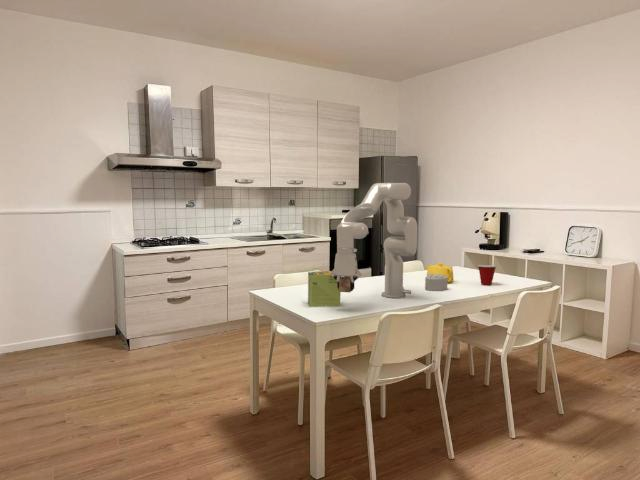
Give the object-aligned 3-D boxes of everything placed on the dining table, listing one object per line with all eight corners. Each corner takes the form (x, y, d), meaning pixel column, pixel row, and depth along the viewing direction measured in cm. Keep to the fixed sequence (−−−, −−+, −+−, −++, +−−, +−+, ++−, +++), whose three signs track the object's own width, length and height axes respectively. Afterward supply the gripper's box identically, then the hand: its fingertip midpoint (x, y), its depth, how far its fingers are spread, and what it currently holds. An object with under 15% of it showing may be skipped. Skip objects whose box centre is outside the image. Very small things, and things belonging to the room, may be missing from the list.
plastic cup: (491, 282, 274) (492, 263, 272) (498, 286, 263) (499, 266, 262) (473, 282, 273) (474, 263, 272) (480, 286, 263) (481, 266, 261)
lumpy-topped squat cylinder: (449, 289, 253) (450, 274, 252) (435, 292, 245) (435, 277, 244) (434, 286, 261) (435, 272, 260) (420, 289, 253) (420, 274, 252)
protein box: (340, 306, 212) (341, 274, 211) (308, 306, 211) (308, 274, 210) (338, 301, 223) (338, 270, 221) (307, 301, 221) (307, 271, 220)
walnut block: (352, 289, 205) (352, 277, 204) (349, 292, 200) (349, 279, 199) (342, 289, 206) (341, 276, 206) (339, 291, 202) (339, 279, 201)
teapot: (419, 279, 282) (420, 261, 281) (433, 278, 289) (433, 260, 288) (444, 285, 266) (445, 265, 265) (458, 283, 273) (458, 264, 271)
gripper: (365, 250, 202) (365, 289, 204) (329, 249, 207) (330, 287, 209) (362, 252, 195) (362, 293, 197) (325, 251, 200) (325, 291, 202)
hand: (345, 289), depth 203 cm, fingers closed on walnut block, 5 cm apart
